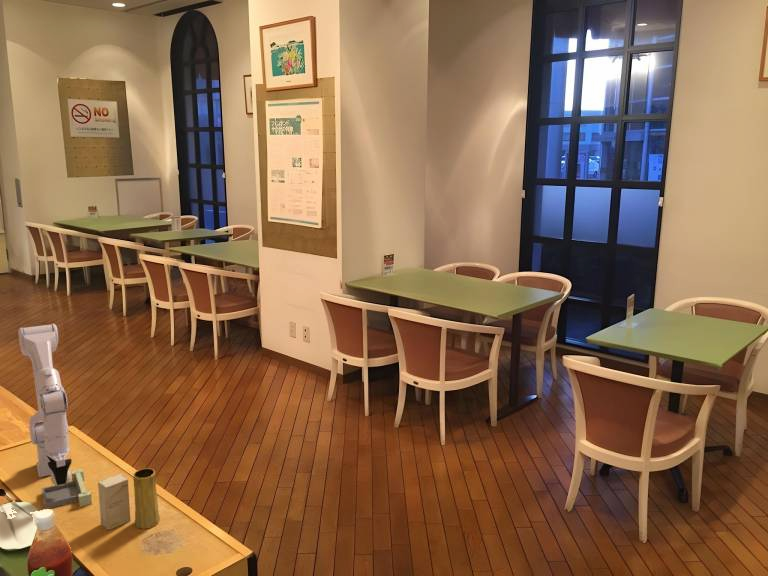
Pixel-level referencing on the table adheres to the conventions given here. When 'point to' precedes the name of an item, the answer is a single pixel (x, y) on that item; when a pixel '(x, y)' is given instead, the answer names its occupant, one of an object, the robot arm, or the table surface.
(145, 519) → the vase
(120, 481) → the skincare box
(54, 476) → the ball
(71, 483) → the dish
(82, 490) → the rail
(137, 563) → the table surface
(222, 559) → the table surface
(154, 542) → the table surface
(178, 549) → the table surface
